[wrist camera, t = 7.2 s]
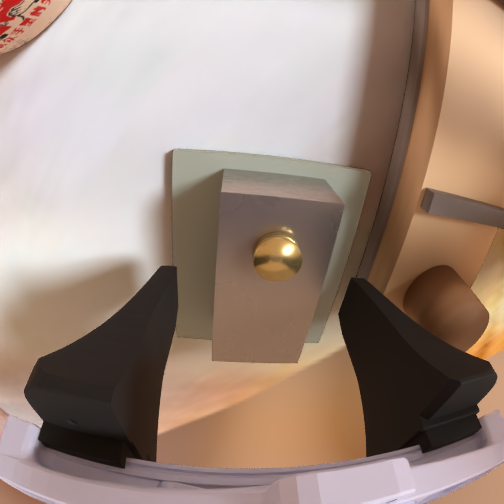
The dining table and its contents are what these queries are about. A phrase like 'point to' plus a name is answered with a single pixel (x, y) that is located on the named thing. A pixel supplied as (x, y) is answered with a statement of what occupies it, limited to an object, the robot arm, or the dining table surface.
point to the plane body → (444, 172)
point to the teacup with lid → (26, 20)
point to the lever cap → (270, 263)
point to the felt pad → (207, 221)
